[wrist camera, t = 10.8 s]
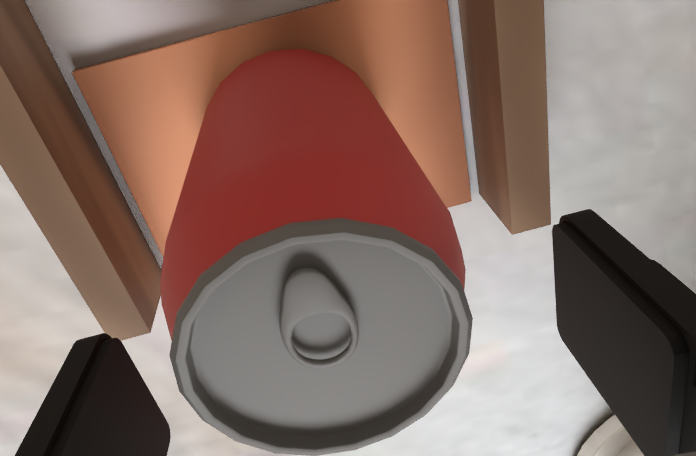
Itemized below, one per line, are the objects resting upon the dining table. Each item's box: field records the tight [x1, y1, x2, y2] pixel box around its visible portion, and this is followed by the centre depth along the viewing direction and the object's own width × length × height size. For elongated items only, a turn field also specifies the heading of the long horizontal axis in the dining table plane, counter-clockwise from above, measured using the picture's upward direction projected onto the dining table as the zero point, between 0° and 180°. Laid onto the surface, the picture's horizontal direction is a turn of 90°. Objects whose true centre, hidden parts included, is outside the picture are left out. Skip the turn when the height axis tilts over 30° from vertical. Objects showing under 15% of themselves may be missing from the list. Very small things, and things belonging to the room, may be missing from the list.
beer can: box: [160, 49, 473, 456], centre depth 15 cm, size 7×7×12 cm
